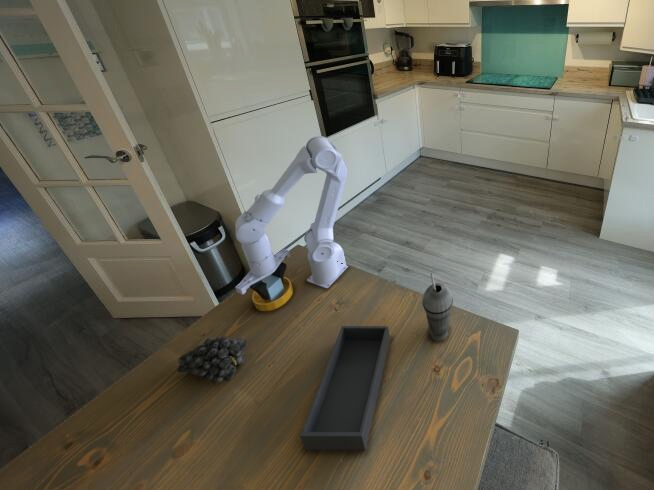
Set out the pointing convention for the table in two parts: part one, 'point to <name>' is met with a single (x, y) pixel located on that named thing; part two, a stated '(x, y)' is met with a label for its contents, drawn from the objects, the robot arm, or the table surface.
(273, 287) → the toy block
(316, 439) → the bin
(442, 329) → the beverage cup
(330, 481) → the table surface
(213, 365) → the fruit
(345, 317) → the table surface
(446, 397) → the table surface
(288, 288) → the bowl
